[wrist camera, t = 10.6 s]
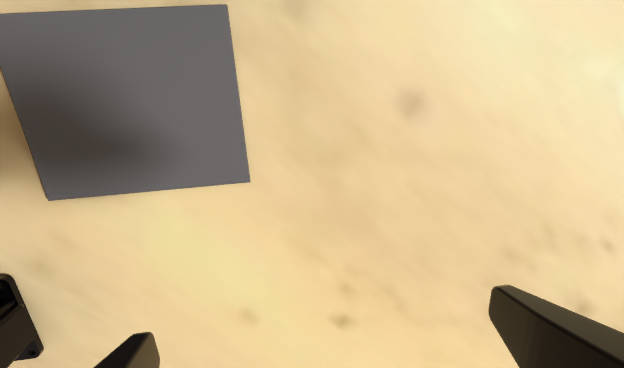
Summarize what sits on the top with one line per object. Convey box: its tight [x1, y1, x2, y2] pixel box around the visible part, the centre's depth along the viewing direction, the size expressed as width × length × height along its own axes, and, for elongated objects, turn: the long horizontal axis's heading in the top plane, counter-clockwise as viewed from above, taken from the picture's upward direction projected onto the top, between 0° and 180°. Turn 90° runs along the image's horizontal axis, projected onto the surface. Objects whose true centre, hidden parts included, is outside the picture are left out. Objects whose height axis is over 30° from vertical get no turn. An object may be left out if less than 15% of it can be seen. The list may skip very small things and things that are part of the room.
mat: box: [0, 4, 250, 201], centre depth 18 cm, size 12×10×1 cm
